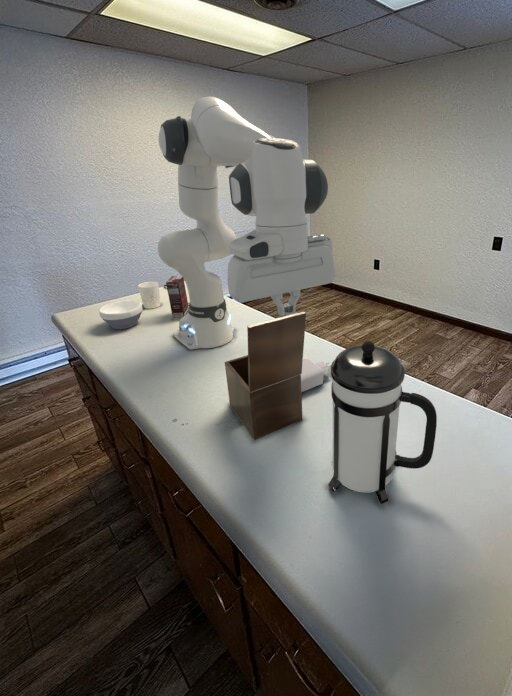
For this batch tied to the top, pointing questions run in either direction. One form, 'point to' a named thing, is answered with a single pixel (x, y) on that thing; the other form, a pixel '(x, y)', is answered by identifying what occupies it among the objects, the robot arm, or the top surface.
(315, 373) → the tissue pack
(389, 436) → the coffee press
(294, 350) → the lid
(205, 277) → the robot arm
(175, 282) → the supplement box
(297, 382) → the box
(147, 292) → the white cup
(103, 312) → the bowl
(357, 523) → the top surface
